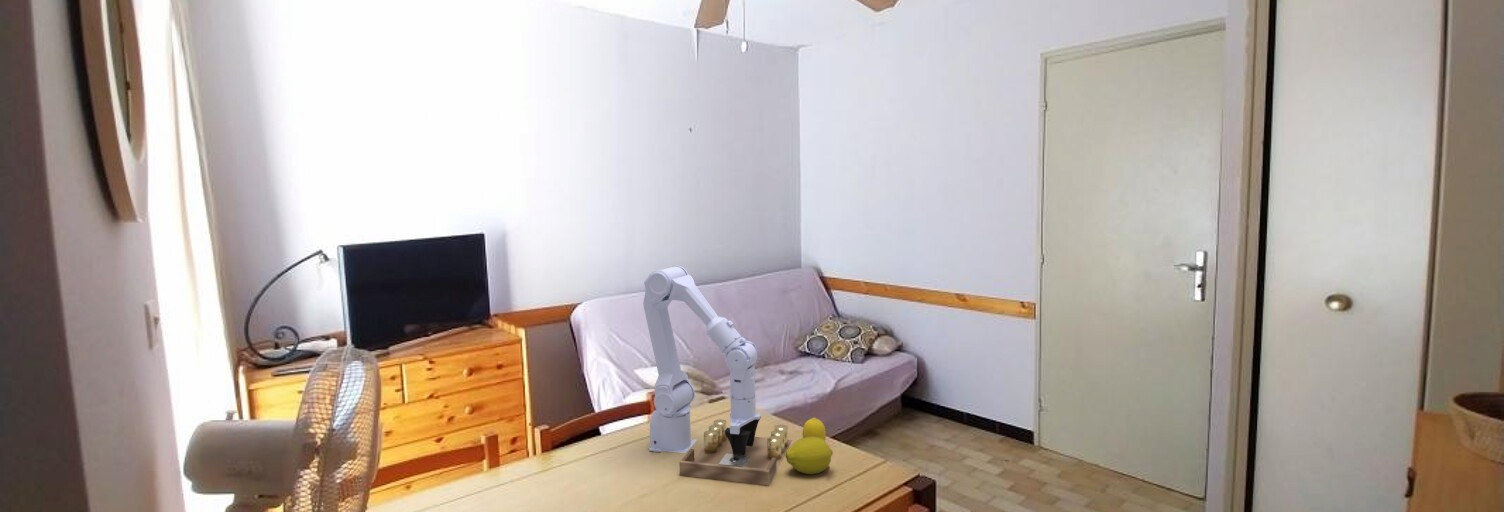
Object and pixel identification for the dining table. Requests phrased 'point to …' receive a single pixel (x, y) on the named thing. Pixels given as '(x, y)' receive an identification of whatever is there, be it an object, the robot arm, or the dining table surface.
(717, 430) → the spacers
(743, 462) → the square block with knob
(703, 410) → the dining table surface
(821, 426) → the lemon
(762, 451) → the tray
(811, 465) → the lemon
